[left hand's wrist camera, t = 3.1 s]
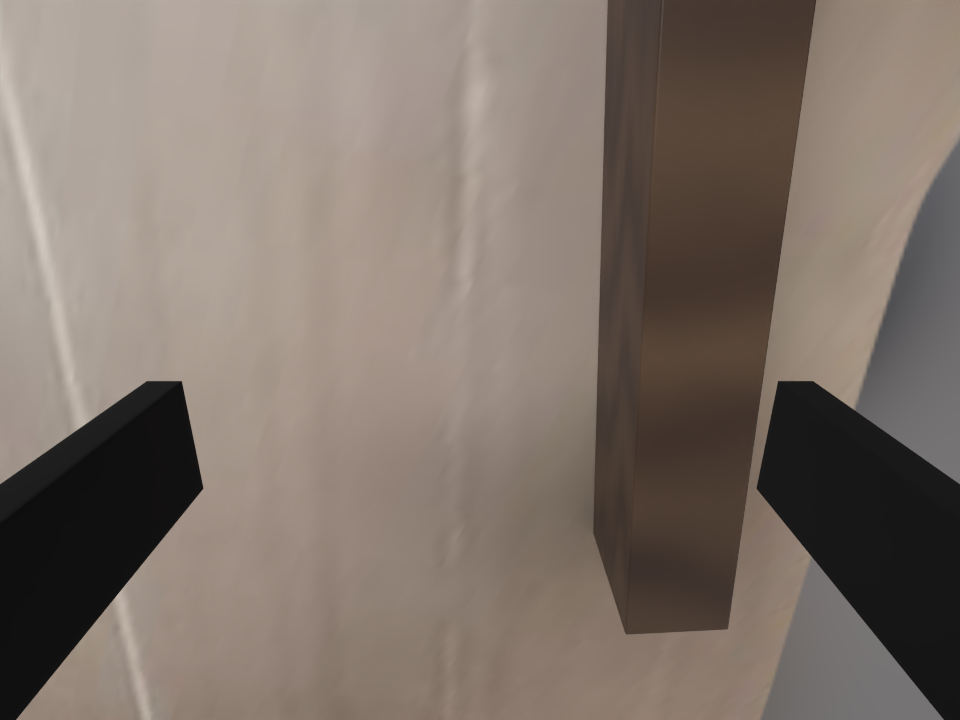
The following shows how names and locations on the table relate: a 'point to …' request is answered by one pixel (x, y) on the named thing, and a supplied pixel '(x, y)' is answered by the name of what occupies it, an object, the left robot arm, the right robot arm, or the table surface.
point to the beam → (688, 289)
